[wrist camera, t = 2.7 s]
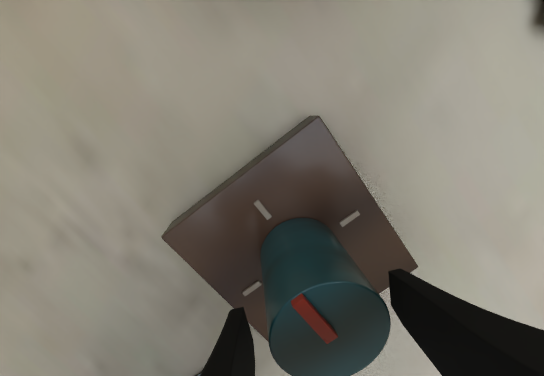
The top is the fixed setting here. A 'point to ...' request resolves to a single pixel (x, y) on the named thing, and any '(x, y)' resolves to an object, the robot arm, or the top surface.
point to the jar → (319, 303)
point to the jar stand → (285, 218)
